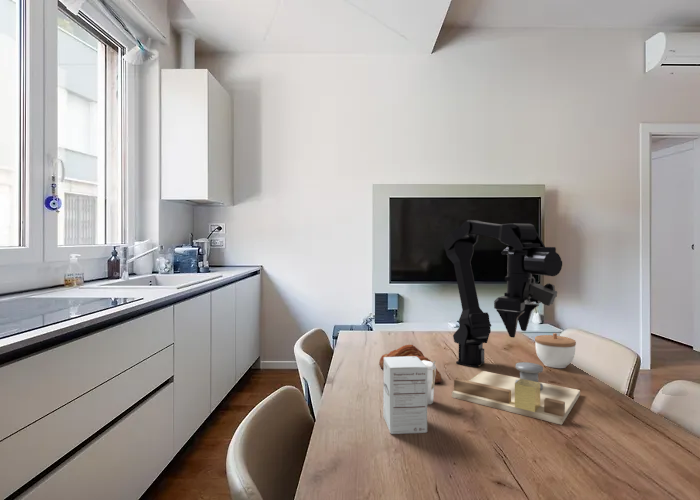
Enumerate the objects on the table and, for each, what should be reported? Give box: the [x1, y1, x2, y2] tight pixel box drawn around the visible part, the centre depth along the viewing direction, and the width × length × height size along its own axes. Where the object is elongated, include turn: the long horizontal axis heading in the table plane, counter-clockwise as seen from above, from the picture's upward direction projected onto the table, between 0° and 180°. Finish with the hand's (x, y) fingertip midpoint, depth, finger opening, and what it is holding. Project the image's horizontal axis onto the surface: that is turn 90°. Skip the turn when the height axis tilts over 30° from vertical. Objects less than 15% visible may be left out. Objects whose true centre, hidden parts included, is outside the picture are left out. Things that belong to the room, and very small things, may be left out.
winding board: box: [451, 370, 581, 426], centre depth 93 cm, size 23×20×4 cm
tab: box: [515, 379, 540, 412], centre depth 84 cm, size 4×4×5 cm
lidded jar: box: [534, 332, 577, 369], centre depth 118 cm, size 11×11×9 cm
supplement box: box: [382, 356, 428, 435], centre depth 78 cm, size 7×7×13 cm
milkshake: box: [422, 360, 437, 405], centre depth 90 cm, size 5×5×10 cm
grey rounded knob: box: [515, 361, 544, 390], centre depth 96 cm, size 6×6×5 cm
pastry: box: [378, 344, 443, 384], centre depth 110 cm, size 17×15×8 cm
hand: (518, 333), depth 102 cm, fingers open, 9 cm apart
